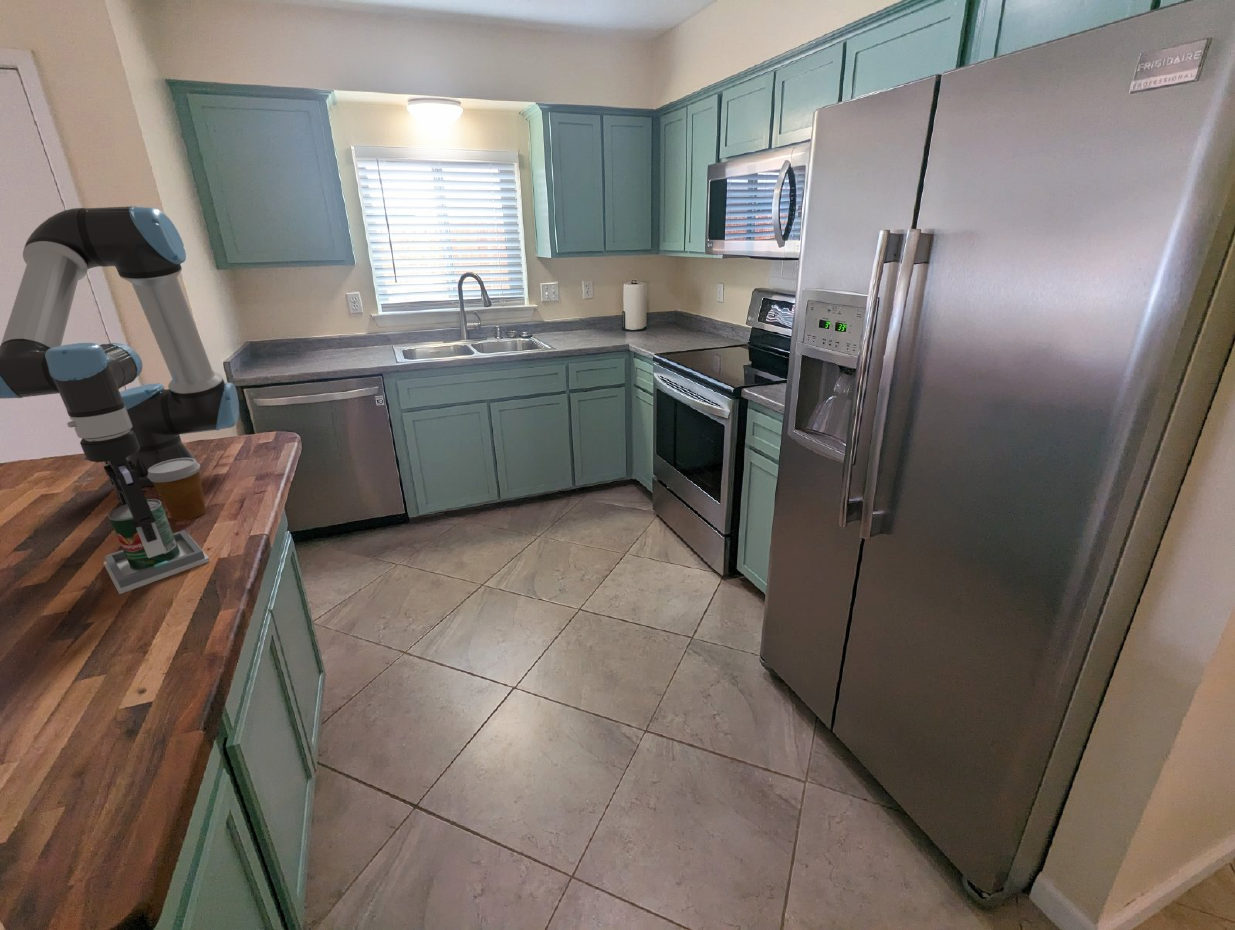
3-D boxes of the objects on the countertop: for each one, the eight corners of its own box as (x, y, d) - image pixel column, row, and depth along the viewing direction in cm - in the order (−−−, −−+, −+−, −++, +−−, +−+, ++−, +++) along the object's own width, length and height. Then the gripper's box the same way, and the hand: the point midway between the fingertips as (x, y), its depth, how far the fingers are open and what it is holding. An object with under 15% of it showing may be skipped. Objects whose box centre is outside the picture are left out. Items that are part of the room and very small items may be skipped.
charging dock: (104, 566, 112) (100, 555, 111) (190, 537, 122) (186, 527, 121) (119, 594, 103) (114, 582, 102) (210, 561, 113) (206, 550, 112)
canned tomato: (126, 575, 107) (102, 523, 103) (134, 555, 114) (113, 505, 109) (177, 563, 111) (157, 512, 106) (183, 544, 117) (164, 495, 113)
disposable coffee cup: (189, 525, 126) (171, 475, 122) (152, 522, 128) (133, 472, 124) (224, 505, 135) (208, 457, 130) (190, 503, 137) (173, 455, 132)
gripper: (69, 427, 107) (114, 534, 115) (89, 455, 93) (139, 575, 101) (120, 416, 112) (159, 520, 120) (147, 442, 98) (189, 557, 106)
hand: (150, 545), depth 111 cm, fingers open, 9 cm apart
